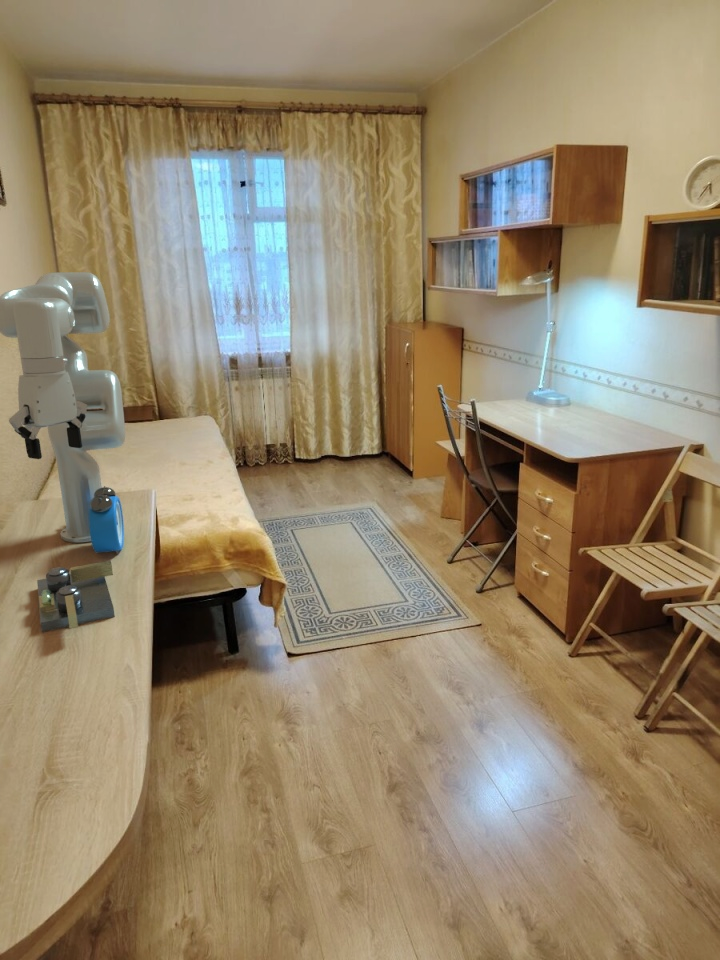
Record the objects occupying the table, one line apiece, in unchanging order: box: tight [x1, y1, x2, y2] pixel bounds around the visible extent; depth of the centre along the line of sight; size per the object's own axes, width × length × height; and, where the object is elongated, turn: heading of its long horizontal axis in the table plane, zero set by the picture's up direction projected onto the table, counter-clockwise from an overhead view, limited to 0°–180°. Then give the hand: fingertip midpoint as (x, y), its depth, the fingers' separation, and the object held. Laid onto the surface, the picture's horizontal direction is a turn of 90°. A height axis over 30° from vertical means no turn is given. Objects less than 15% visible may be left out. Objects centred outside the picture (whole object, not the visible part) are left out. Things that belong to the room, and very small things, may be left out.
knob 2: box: [56, 585, 82, 629], centre depth 127 cm, size 13×4×4 cm, turn 26°
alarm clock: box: [89, 485, 125, 556], centre depth 160 cm, size 13×6×15 cm, turn 13°
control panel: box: [36, 573, 115, 633], centre depth 136 cm, size 20×13×4 cm, turn 26°
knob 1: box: [45, 560, 114, 591], centre depth 140 cm, size 13×4×4 cm, turn 116°
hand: (56, 452), depth 134 cm, fingers open, 9 cm apart
